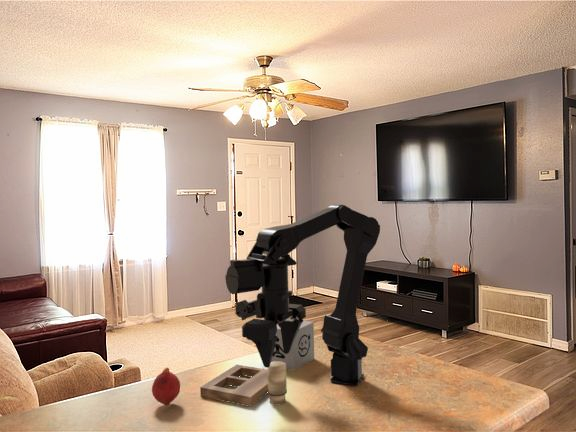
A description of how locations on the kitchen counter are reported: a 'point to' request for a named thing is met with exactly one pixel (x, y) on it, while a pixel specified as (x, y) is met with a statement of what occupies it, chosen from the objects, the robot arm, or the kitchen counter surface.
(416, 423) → the kitchen counter surface
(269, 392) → the peg
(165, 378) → the onion
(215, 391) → the board
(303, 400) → the kitchen counter surface
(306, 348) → the icon cube
